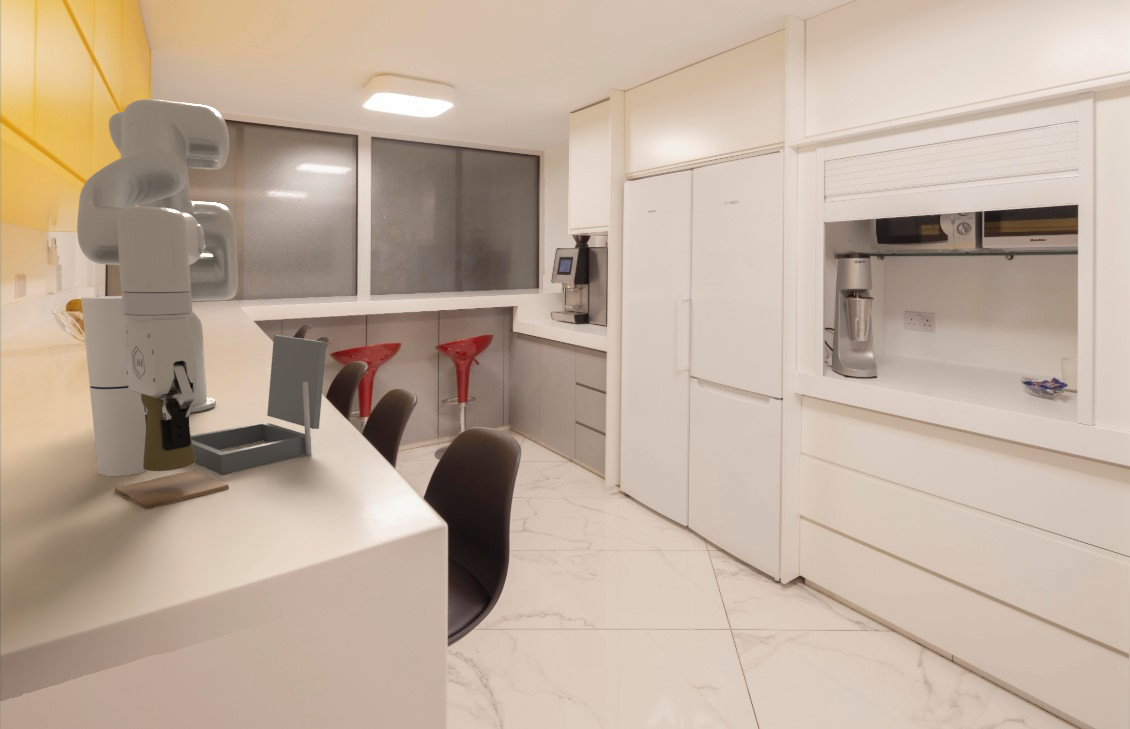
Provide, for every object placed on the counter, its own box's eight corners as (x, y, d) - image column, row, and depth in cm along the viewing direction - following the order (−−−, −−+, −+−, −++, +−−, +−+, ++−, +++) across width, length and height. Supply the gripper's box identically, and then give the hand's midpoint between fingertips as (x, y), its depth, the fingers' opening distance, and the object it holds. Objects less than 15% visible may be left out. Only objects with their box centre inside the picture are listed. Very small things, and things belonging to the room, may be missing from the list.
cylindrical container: (92, 478, 90) (74, 298, 86) (104, 463, 97) (88, 296, 93) (151, 472, 93) (137, 298, 89) (160, 458, 99) (147, 296, 96)
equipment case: (178, 456, 101) (173, 381, 99) (265, 438, 112) (261, 370, 110) (226, 477, 92) (221, 394, 90) (315, 455, 103) (312, 381, 101)
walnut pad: (114, 491, 85) (114, 487, 85) (194, 473, 93) (194, 469, 93) (146, 509, 79) (146, 505, 79) (228, 488, 87) (228, 484, 87)
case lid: (274, 335, 111) (279, 335, 112) (267, 415, 112) (272, 415, 112) (320, 341, 103) (326, 342, 103) (313, 428, 103) (318, 428, 104)
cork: (132, 467, 84) (124, 384, 82) (174, 455, 90) (168, 377, 88) (165, 473, 82) (158, 388, 80) (206, 460, 87) (201, 380, 86)
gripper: (99, 304, 85) (111, 439, 87) (153, 311, 75) (165, 464, 77) (162, 302, 90) (172, 429, 93) (219, 308, 81) (228, 450, 83)
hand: (168, 443), depth 85 cm, fingers closed on cork, 4 cm apart
